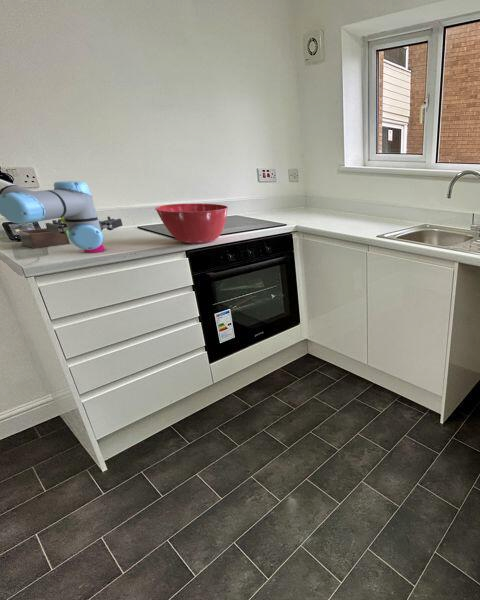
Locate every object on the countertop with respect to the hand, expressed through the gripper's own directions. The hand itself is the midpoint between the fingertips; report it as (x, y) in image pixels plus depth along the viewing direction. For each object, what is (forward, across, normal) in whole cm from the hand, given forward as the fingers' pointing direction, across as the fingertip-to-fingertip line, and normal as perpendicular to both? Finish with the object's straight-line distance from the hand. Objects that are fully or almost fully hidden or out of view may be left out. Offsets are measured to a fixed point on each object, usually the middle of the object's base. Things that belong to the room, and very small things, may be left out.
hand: (85, 221), depth 129 cm
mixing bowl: (+9, +37, -13) cm, 40 cm away
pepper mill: (+9, 0, -13) cm, 16 cm away
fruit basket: (+49, -6, -13) cm, 51 cm away
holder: (+33, -15, -13) cm, 39 cm away
